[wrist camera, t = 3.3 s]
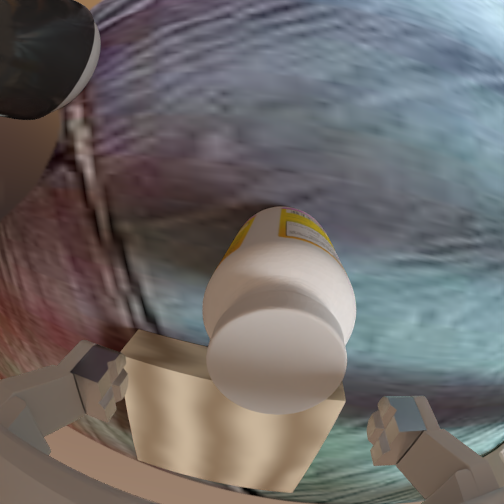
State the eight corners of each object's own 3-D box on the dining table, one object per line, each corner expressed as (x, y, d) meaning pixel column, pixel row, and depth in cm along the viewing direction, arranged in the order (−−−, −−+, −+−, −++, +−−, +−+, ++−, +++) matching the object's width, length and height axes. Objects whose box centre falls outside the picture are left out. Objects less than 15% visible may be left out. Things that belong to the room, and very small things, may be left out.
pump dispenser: (36, 138, 21) (-103, 155, 6) (35, 45, 18) (-82, 23, 3) (123, 101, 19) (-50, 73, 5) (119, -2, 16) (0, -74, 2)
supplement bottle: (247, 300, 23) (207, 434, 11) (226, 215, 21) (146, 294, 9) (335, 285, 22) (374, 417, 10) (321, 196, 20) (371, 256, 8)
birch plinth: (339, 369, 24) (345, 401, 20) (293, 467, 29) (292, 492, 26) (138, 329, 25) (118, 354, 21) (149, 436, 30) (138, 459, 27)
